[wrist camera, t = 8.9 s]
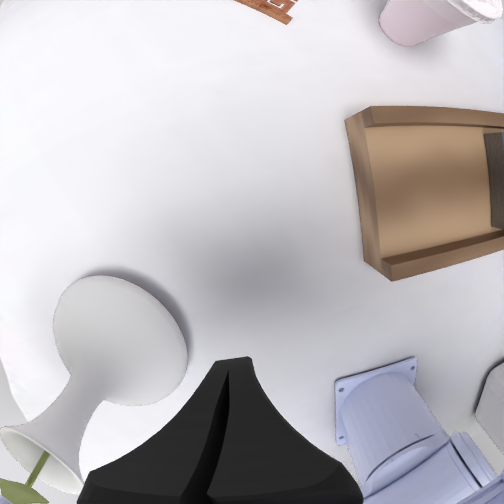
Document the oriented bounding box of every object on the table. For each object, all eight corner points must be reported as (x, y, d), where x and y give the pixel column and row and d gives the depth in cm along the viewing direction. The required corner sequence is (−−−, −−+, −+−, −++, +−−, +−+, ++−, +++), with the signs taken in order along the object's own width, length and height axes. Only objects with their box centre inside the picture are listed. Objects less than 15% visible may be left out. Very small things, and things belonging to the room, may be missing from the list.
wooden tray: (524, 222, 20) (554, 231, 16) (364, 261, 20) (391, 281, 16) (516, 124, 17) (547, 122, 13) (344, 120, 18) (370, 106, 14)
